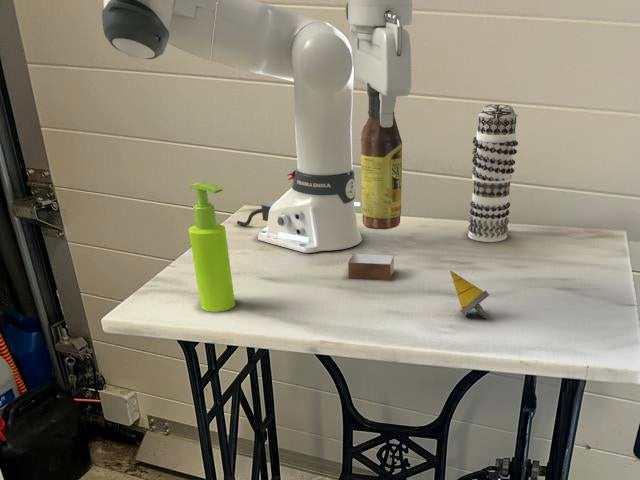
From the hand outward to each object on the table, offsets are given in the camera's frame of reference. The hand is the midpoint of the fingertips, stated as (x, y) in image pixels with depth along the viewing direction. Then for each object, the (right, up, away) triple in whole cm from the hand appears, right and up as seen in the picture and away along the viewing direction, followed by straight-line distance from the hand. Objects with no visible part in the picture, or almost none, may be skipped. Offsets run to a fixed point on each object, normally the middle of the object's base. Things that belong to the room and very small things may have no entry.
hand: (381, 123), depth 107 cm
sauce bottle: (0, -12, +9) cm, 15 cm away
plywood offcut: (-2, -12, +32) cm, 34 cm away
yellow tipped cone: (+15, -24, +17) cm, 33 cm away
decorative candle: (+23, +3, +52) cm, 57 cm away
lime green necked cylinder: (-28, -21, +20) cm, 41 cm away
